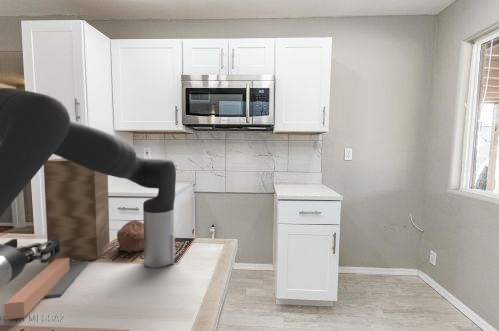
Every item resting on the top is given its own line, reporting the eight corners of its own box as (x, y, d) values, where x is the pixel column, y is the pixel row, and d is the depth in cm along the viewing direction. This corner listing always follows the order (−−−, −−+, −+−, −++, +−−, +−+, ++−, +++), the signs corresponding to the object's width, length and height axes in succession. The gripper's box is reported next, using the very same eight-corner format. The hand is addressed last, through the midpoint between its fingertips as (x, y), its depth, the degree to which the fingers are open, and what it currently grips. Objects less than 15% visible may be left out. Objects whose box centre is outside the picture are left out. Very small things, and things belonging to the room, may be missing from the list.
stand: (110, 242, 99) (108, 158, 97) (98, 259, 85) (94, 160, 83) (67, 245, 96) (63, 158, 93) (46, 263, 82) (41, 160, 79)
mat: (88, 263, 82) (88, 261, 82) (61, 295, 65) (61, 293, 65) (64, 265, 81) (64, 263, 81) (31, 299, 63) (30, 296, 63)
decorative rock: (121, 243, 100) (121, 217, 99) (152, 240, 102) (152, 216, 101) (112, 257, 87) (111, 228, 86) (147, 254, 90) (147, 226, 89)
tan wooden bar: (69, 269, 77) (69, 257, 77) (24, 317, 56) (23, 301, 56) (56, 270, 76) (55, 258, 76) (5, 319, 55) (4, 303, 55)
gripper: (30, 250, 49) (68, 224, 65) (-64, 257, 46) (0, 228, 61) (32, 288, 50) (69, 254, 65) (-61, 298, 46) (2, 259, 62)
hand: (36, 241), depth 63 cm, fingers open, 8 cm apart
